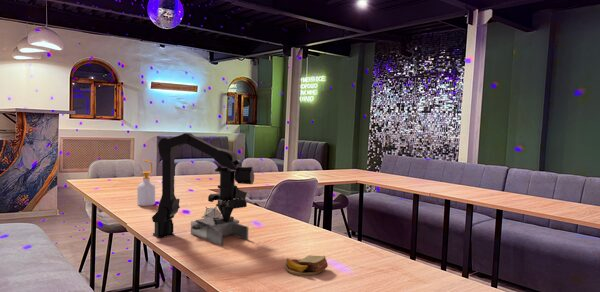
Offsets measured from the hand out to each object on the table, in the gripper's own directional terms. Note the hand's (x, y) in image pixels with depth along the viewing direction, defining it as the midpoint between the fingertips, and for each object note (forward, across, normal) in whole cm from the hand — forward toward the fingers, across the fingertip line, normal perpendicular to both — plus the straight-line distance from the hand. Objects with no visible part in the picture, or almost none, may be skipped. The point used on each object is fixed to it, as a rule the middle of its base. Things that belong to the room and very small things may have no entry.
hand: (226, 222), depth 166 cm
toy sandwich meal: (+7, -44, -1) cm, 45 cm away
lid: (+2, +7, 0) cm, 7 cm away
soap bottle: (+8, +83, -5) cm, 84 cm away
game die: (+7, +24, -9) cm, 27 cm away
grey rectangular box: (+7, +5, 0) cm, 9 cm away
